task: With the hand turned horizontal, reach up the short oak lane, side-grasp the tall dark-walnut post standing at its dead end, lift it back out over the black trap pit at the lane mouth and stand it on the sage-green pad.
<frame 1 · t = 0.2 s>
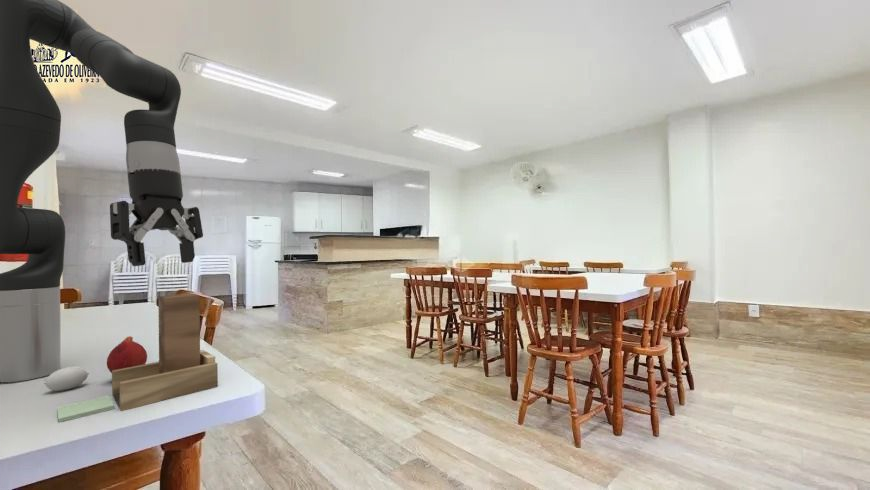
hand: (164, 263, 65), 22 cm above the table, tool pointing down, fingers open, 8 cm apart
pad: (85, 409, 56), on the table
egg: (67, 390, 65), on the table
post: (179, 375, 65), point 2 cm above the table, touching lane
onion: (127, 380, 70), on the table
lane: (166, 390, 63), on the table
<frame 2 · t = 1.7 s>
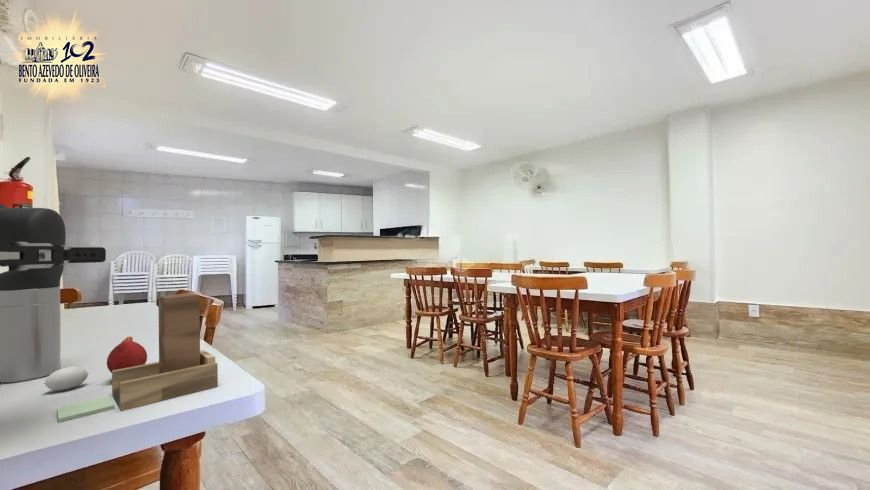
hand: (102, 255, 58), 23 cm above the table, tool horizontal, fingers open, 8 cm apart
nothing on the table moved.
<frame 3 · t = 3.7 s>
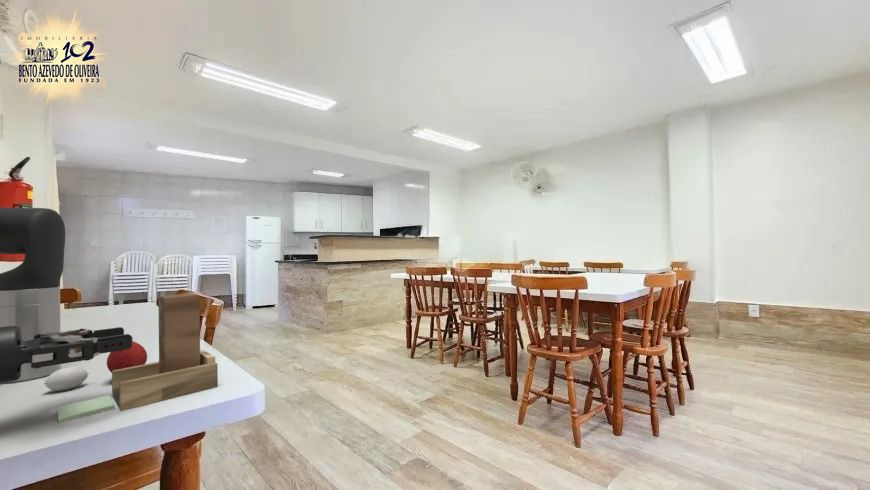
hand: (127, 337, 60), 10 cm above the table, tool horizontal, fingers open, 8 cm apart
nothing on the table moved.
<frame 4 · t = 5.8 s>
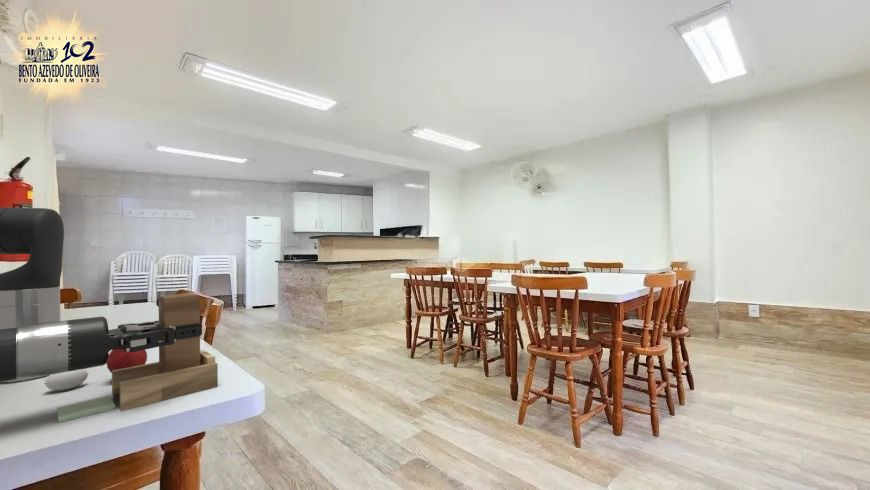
hand: (196, 327, 67), 10 cm above the table, tool horizontal, fingers closed on post, 5 cm apart
post: (179, 375, 65), point 2 cm above the table, touching gripper, lane
everything else where it was.
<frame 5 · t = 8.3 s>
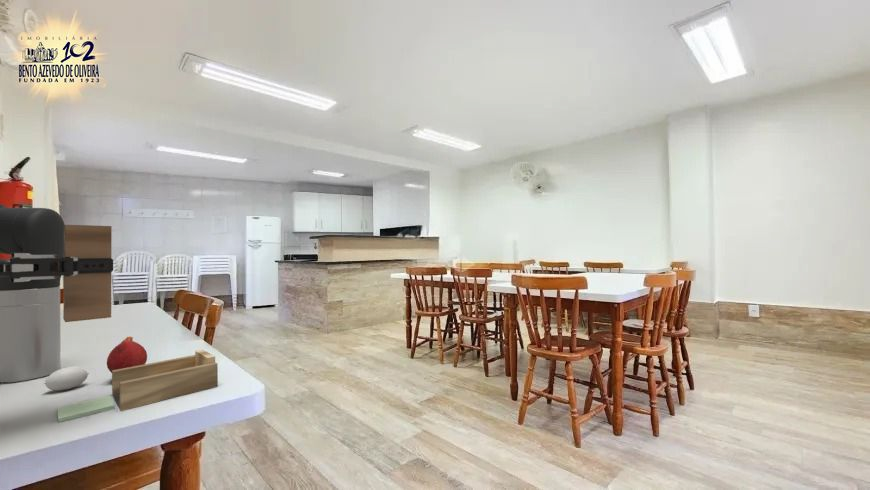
hand: (109, 265, 59), 22 cm above the table, tool horizontal, fingers closed on post, 5 cm apart
post: (87, 318, 57), point 14 cm above the table, touching gripper
everything else where it was.
when the fingers open (9 cm above the table, at t = 11.1 s): post stays where it is, resting on pad.
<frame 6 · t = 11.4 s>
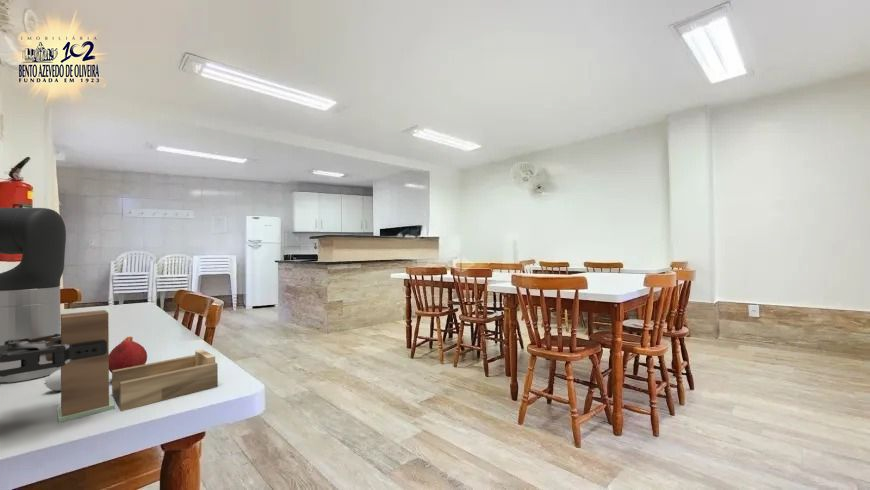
hand: (103, 342, 58), 10 cm above the table, tool horizontal, fingers open, 7 cm apart
post: (85, 406, 56), resting on pad
everything else where it was.
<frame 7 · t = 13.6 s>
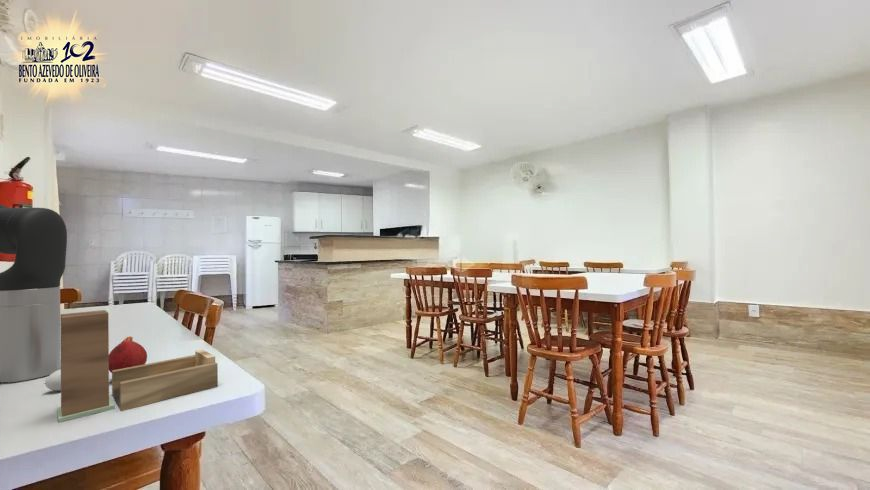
nothing on the table moved.
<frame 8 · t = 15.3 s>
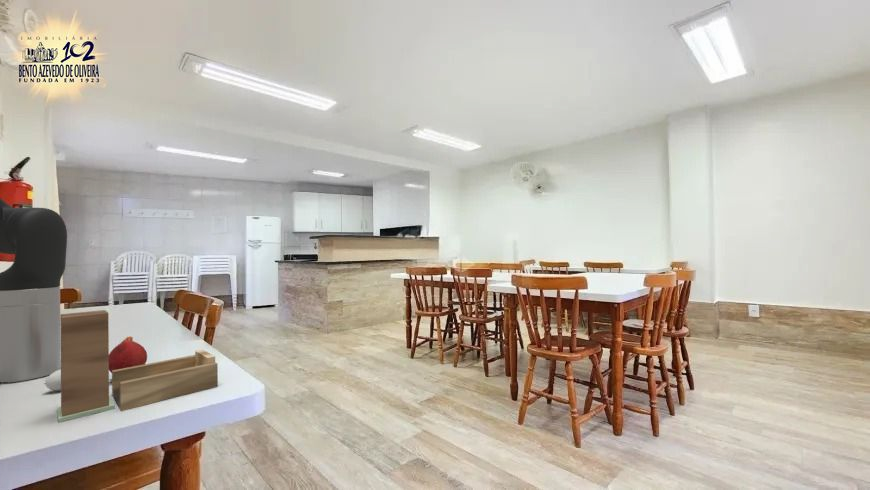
hand: (1, 211, 55), 30 cm above the table, tool horizontal, fingers open, 8 cm apart
nothing on the table moved.
at the end: post inside the target area on the pad (0.1 cm from its centre), point 0.5 cm above the pad's base; post tilted 0°; post touching pad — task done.
